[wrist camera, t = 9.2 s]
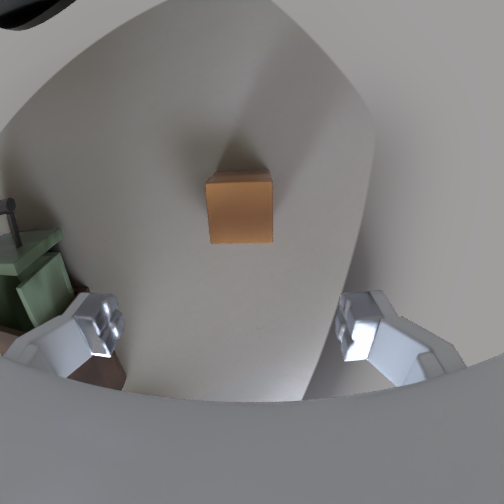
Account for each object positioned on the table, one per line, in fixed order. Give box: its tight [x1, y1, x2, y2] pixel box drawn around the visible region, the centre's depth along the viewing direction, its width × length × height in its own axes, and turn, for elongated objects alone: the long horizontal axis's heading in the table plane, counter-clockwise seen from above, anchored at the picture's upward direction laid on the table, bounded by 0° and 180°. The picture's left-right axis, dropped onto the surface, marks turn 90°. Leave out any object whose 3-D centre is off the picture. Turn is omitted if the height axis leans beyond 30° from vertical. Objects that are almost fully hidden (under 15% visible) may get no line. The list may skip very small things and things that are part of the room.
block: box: [205, 170, 273, 244], centre depth 21 cm, size 4×4×4 cm
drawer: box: [0, 198, 75, 333], centre depth 22 cm, size 20×12×8 cm, turn 2°
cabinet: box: [0, 287, 127, 391], centre depth 27 cm, size 16×13×10 cm
